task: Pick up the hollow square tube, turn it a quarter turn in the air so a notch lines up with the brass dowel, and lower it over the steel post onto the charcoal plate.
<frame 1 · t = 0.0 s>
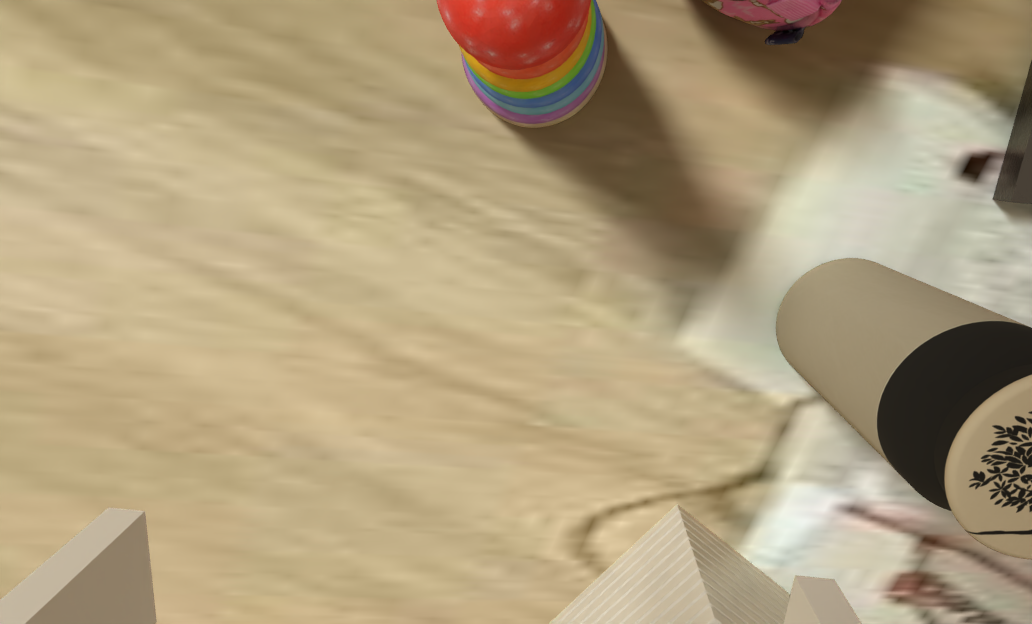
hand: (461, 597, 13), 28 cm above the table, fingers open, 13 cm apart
travel mug: (838, 319, 40), on the table
stacking toy: (535, 54, 36), on the table
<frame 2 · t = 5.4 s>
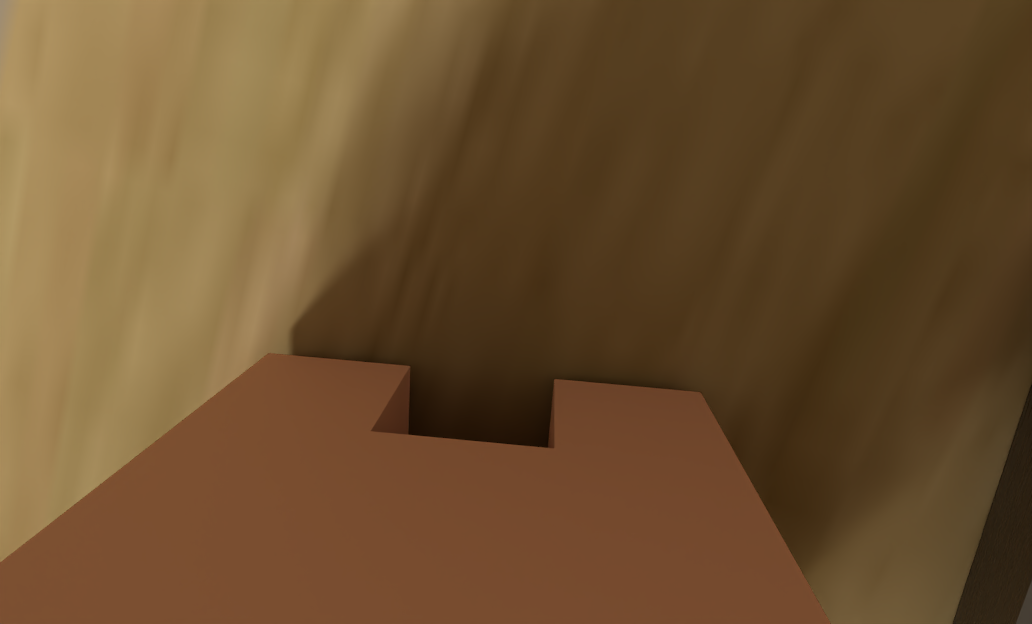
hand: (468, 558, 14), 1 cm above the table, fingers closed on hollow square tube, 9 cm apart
hollow square tube: (470, 557, 14), on the table, touching gripper
when the fingers open (3 cm above the table, at t = 11.0 s): hollow square tube drops 1 cm, resting on post plate.
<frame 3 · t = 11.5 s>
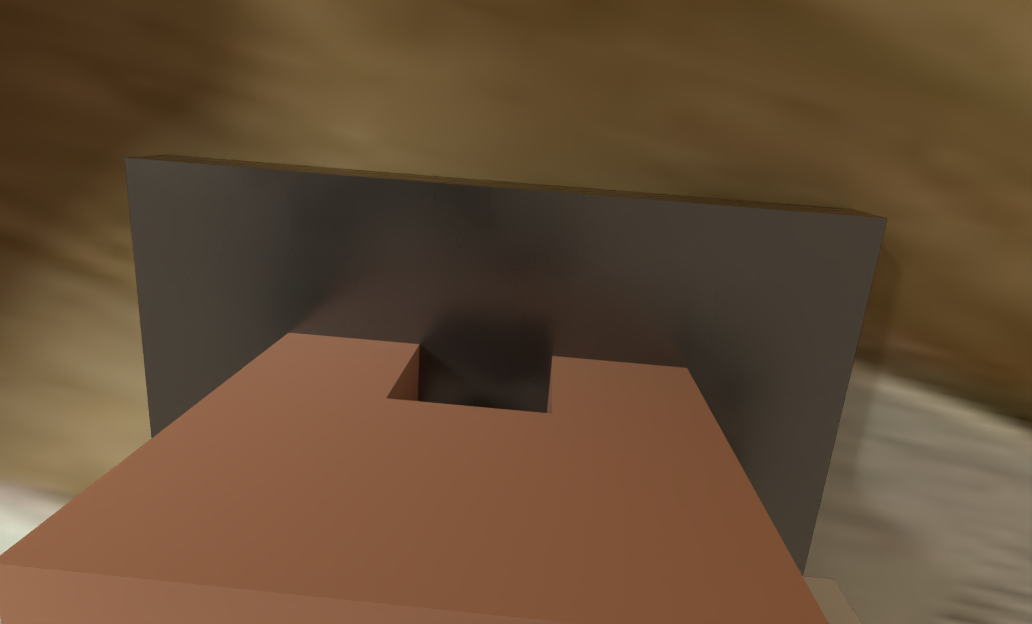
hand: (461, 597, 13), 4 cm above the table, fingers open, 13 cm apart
hollow square tube: (474, 523, 16), point 1 cm above the table, touching post plate
post plate: (483, 486, 17), on the table
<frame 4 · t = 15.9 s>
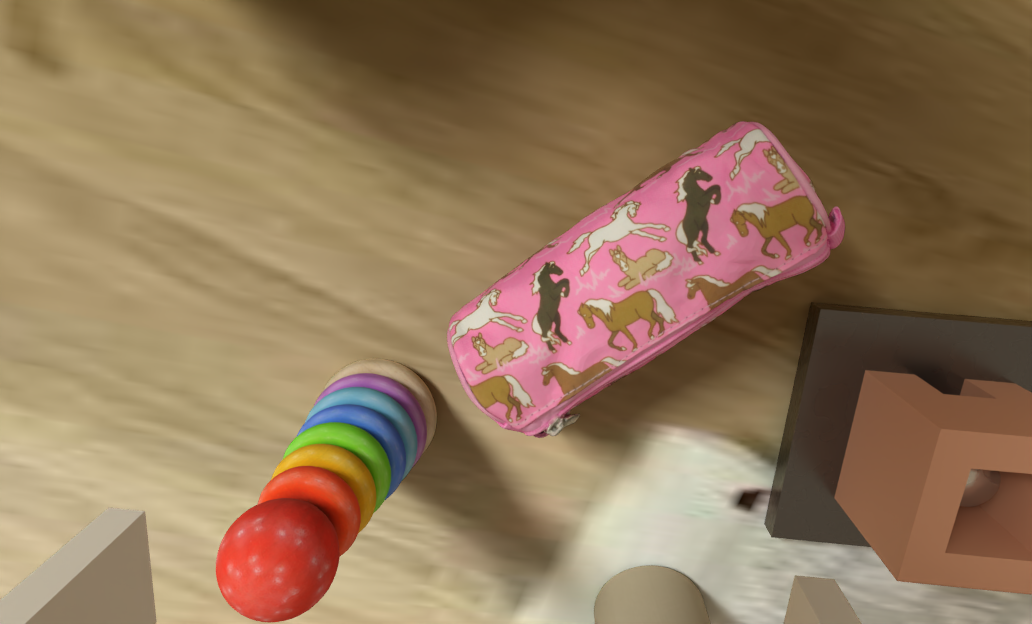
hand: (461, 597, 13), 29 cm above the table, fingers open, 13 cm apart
hollow square tube: (921, 442, 40), point 1 cm above the table, touching post plate
travel mug: (647, 606, 47), on the table
stacking toy: (382, 408, 44), on the table
pencil case: (625, 267, 40), on the table
post plate: (909, 430, 42), on the table
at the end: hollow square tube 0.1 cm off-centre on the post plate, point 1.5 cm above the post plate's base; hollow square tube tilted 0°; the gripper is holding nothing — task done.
